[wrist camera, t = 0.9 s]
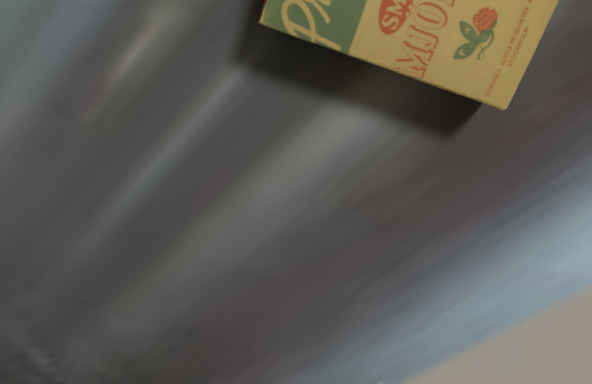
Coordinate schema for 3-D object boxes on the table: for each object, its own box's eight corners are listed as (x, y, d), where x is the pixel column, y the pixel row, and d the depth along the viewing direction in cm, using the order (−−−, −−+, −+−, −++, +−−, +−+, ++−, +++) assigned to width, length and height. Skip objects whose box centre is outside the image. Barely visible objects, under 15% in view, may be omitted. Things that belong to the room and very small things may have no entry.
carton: (482, 102, 35) (507, 116, 31) (257, 23, 33) (252, 26, 29) (540, -23, 32) (576, -26, 28) (299, -117, 30) (300, -135, 26)
